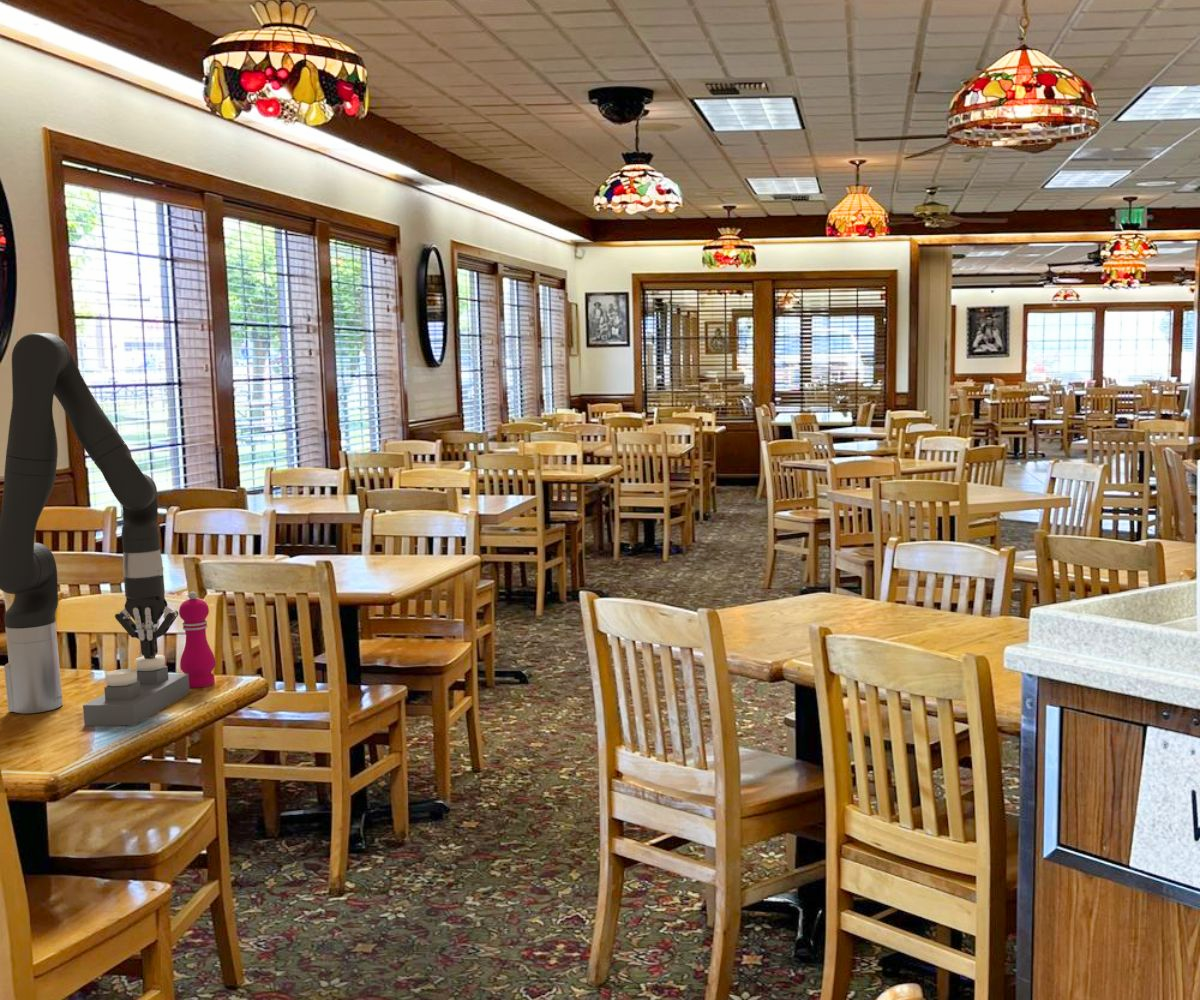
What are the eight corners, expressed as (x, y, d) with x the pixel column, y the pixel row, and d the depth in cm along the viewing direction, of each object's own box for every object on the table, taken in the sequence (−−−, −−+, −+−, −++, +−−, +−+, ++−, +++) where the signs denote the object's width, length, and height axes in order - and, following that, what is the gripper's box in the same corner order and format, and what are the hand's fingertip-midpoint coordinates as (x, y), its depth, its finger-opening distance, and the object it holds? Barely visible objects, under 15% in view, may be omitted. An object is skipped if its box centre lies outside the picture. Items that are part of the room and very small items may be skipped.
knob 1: (102, 699, 245) (100, 676, 244) (116, 691, 250) (114, 669, 250) (129, 698, 244) (128, 675, 244) (143, 691, 250) (141, 668, 249)
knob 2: (132, 683, 257) (130, 661, 256) (145, 676, 262) (143, 654, 262) (158, 683, 256) (156, 661, 256) (171, 676, 262) (169, 654, 261)
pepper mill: (206, 688, 268) (199, 594, 266) (175, 688, 269) (167, 594, 267) (223, 680, 275) (216, 588, 273) (192, 679, 276) (185, 588, 274)
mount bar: (84, 725, 243) (81, 692, 242) (143, 693, 266) (141, 662, 266) (134, 725, 241) (131, 691, 241) (189, 692, 265) (187, 661, 264)
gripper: (102, 577, 254) (110, 662, 256) (166, 575, 252) (173, 661, 254) (121, 570, 261) (128, 654, 263) (182, 569, 260) (189, 653, 262)
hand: (150, 657), depth 259 cm, fingers closed
